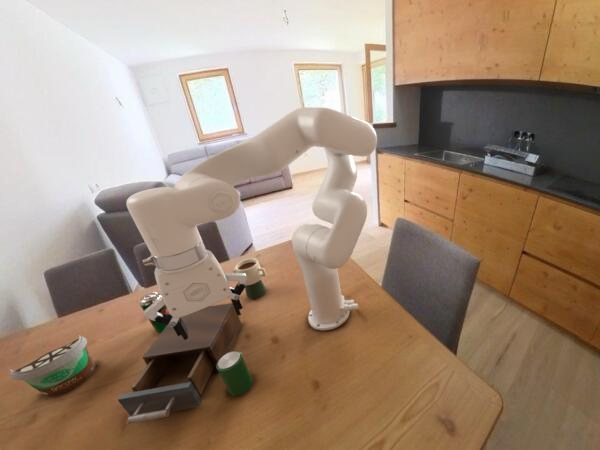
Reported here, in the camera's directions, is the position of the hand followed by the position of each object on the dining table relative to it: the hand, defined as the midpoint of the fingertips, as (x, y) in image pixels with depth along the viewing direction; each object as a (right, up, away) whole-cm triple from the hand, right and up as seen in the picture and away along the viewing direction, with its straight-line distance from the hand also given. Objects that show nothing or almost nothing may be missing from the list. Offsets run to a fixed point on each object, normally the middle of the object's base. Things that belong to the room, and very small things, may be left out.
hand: (213, 323), depth 59 cm
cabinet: (-15, -14, +19) cm, 28 cm away
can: (+1, -18, +9) cm, 20 cm away
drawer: (-13, -19, +7) cm, 24 cm away
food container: (-43, -19, +11) cm, 48 cm away
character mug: (-11, -4, +39) cm, 41 cm away
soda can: (-33, -11, +27) cm, 44 cm away
